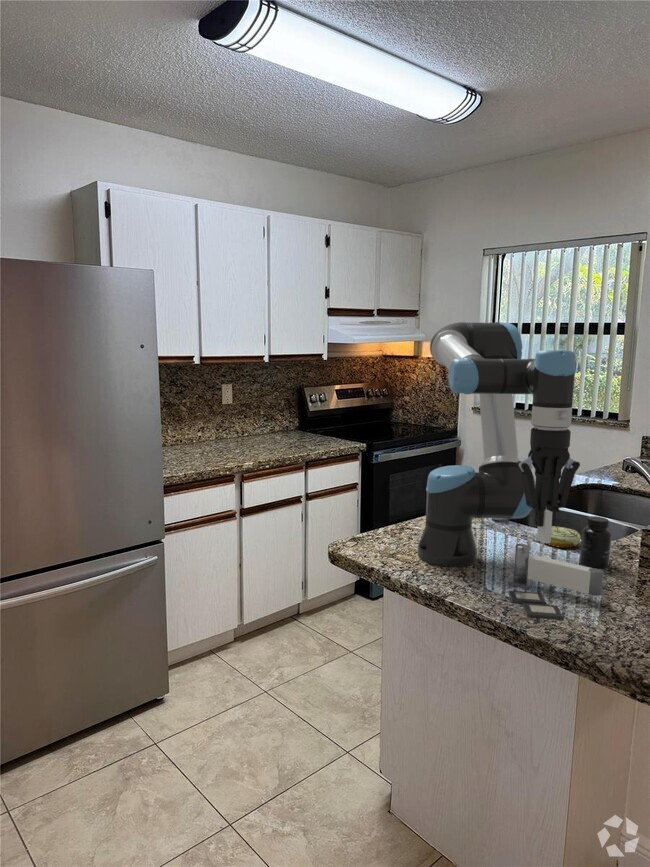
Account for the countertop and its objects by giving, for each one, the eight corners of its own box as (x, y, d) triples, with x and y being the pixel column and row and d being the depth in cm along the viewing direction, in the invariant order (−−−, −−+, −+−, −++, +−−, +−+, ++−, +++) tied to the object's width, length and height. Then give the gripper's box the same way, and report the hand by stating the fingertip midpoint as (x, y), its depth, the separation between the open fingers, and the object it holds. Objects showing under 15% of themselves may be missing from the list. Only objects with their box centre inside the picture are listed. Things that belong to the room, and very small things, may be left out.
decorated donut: (584, 550, 162) (586, 537, 162) (543, 548, 164) (544, 535, 163) (573, 537, 173) (574, 524, 172) (535, 535, 174) (536, 523, 173)
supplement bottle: (611, 571, 148) (616, 524, 146) (582, 568, 149) (586, 522, 147) (605, 560, 155) (609, 515, 153) (576, 558, 156) (580, 513, 154)
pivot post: (506, 584, 139) (509, 547, 138) (511, 577, 144) (513, 540, 142) (529, 589, 137) (531, 551, 136) (533, 581, 141) (535, 544, 140)
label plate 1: (512, 602, 130) (512, 599, 130) (508, 592, 135) (508, 589, 135) (545, 605, 129) (546, 602, 129) (541, 595, 134) (541, 592, 134)
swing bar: (527, 579, 138) (528, 558, 137) (531, 574, 140) (532, 554, 139) (599, 597, 129) (601, 574, 128) (603, 592, 131) (605, 570, 130)
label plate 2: (526, 616, 124) (527, 613, 124) (522, 605, 129) (522, 602, 129) (562, 619, 123) (562, 615, 123) (557, 608, 128) (557, 605, 128)
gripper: (530, 430, 116) (523, 548, 120) (591, 429, 119) (583, 545, 122) (511, 425, 124) (505, 537, 127) (569, 424, 126) (561, 534, 129)
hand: (543, 540), depth 124 cm, fingers closed
